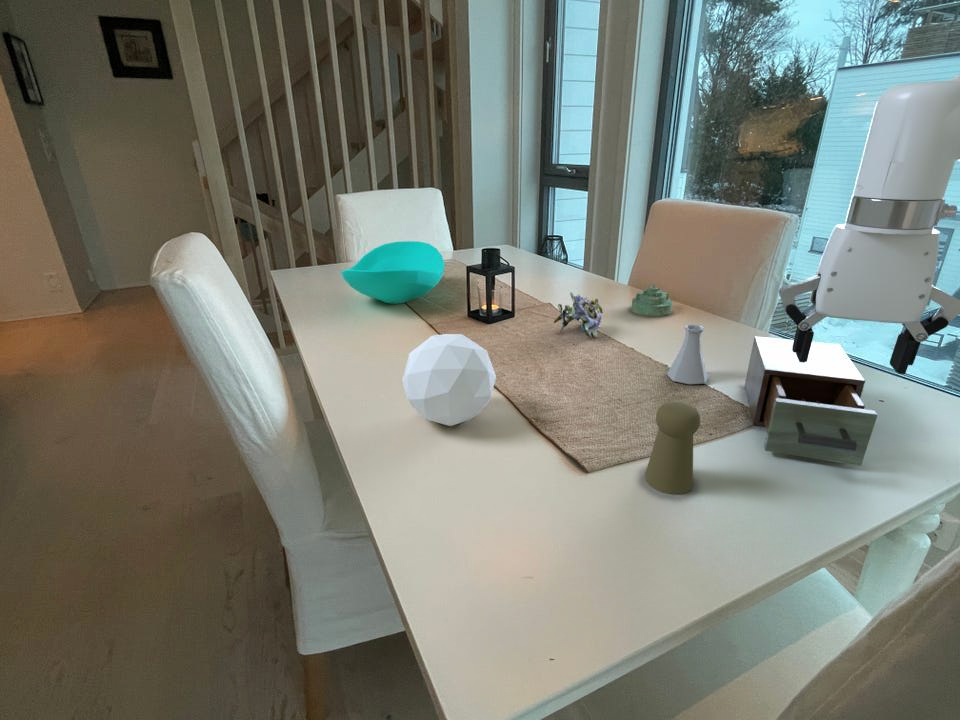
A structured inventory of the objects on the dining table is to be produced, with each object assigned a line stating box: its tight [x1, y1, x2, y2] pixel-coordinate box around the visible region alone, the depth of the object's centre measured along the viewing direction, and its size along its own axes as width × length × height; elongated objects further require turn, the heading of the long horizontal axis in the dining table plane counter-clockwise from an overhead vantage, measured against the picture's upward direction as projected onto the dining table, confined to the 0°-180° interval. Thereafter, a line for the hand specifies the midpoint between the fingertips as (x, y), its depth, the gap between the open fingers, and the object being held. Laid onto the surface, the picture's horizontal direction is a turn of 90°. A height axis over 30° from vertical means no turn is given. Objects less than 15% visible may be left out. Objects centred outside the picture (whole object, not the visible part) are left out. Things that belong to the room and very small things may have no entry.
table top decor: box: [340, 240, 446, 304], centre depth 145 cm, size 40×28×13 cm
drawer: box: [762, 375, 878, 467], centre depth 72 cm, size 18×11×8 cm, turn 159°
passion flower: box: [553, 292, 604, 338], centre depth 117 cm, size 11×11×12 cm
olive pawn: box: [644, 400, 701, 495], centre depth 65 cm, size 6×6×11 cm
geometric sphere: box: [401, 333, 497, 427], centre depth 81 cm, size 14×15×15 cm
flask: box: [666, 323, 708, 385], centre depth 94 cm, size 7×7×10 cm
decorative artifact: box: [630, 283, 674, 317], centre depth 132 cm, size 10×7×10 cm
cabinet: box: [744, 335, 866, 428], centre depth 82 cm, size 15×13×10 cm
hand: (847, 363), depth 61 cm, fingers open, 9 cm apart
